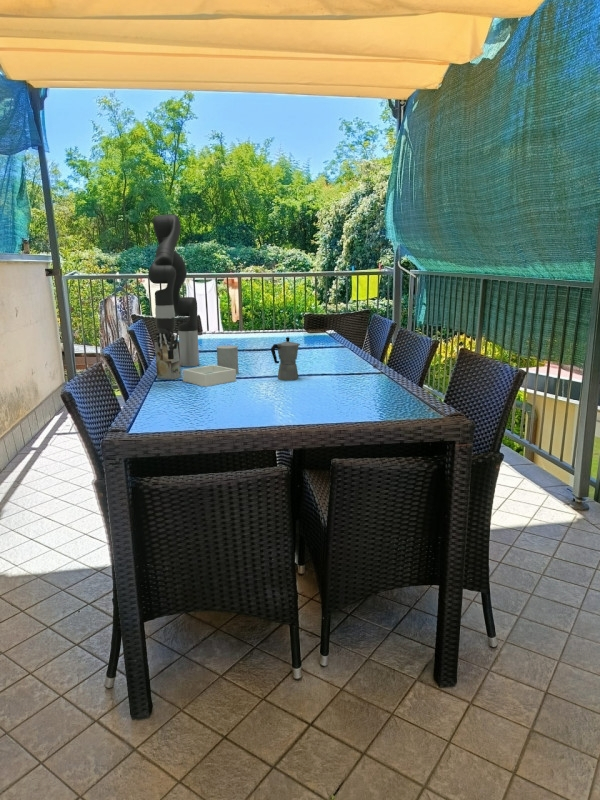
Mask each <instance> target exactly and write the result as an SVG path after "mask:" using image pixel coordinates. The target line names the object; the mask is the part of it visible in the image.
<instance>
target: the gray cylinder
mask: <svg viewBox="0 0 600 800" xmlns="http://www.w3.org/2000/svg"><path fill="white" fill-rule="evenodd" d="M238 348H239V347H238V346H237V345H231V344H230V345H229V344H228V345H218V346H216V366H221V367H226V368H231V369H236V376H237V375H239V352H238V351H239V350H238Z"/></svg>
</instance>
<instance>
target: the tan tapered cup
mask: <svg viewBox="0 0 600 800" xmlns="http://www.w3.org/2000/svg"><path fill="white" fill-rule="evenodd" d="M169 346H170V345H169ZM162 352H163V361H173V359H171V360H169V359H168V349H167V345H163V346H162Z"/></svg>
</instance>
